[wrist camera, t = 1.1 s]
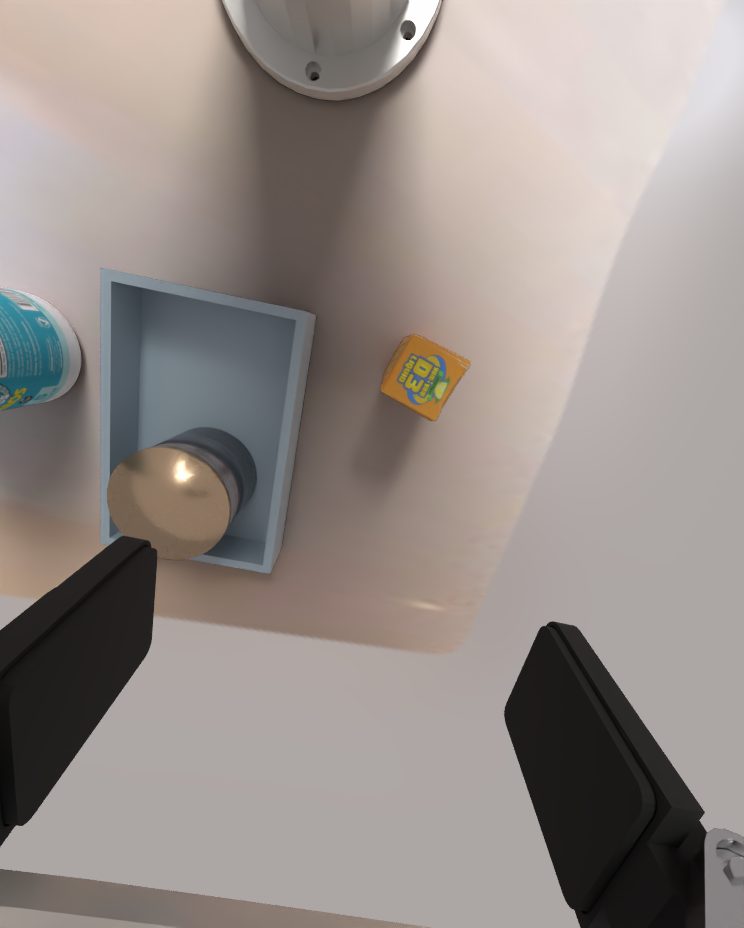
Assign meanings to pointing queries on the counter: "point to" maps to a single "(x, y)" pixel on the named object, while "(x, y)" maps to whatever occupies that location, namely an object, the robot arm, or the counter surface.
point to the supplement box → (423, 375)
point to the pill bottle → (34, 351)
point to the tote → (205, 392)
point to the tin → (182, 491)
